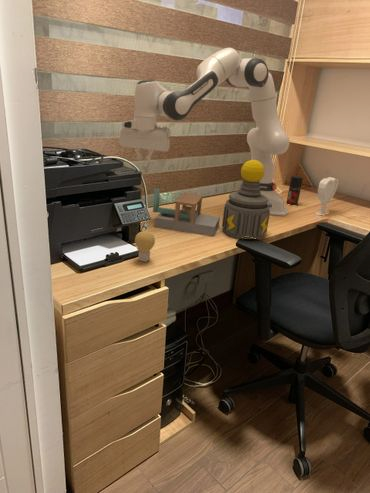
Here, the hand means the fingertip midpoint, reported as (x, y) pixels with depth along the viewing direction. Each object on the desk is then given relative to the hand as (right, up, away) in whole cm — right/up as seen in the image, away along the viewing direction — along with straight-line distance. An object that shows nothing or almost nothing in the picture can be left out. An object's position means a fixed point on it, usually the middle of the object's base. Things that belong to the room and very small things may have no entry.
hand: (143, 160), depth 153 cm
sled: (+12, -21, +5) cm, 25 cm away
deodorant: (+75, -12, +52) cm, 92 cm away
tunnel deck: (+18, -26, +6) cm, 32 cm away
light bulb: (+3, -40, -28) cm, 49 cm away
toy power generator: (+41, -29, +4) cm, 51 cm away
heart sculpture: (+87, -18, +41) cm, 98 cm away
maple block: (+18, -23, +4) cm, 29 cm away
